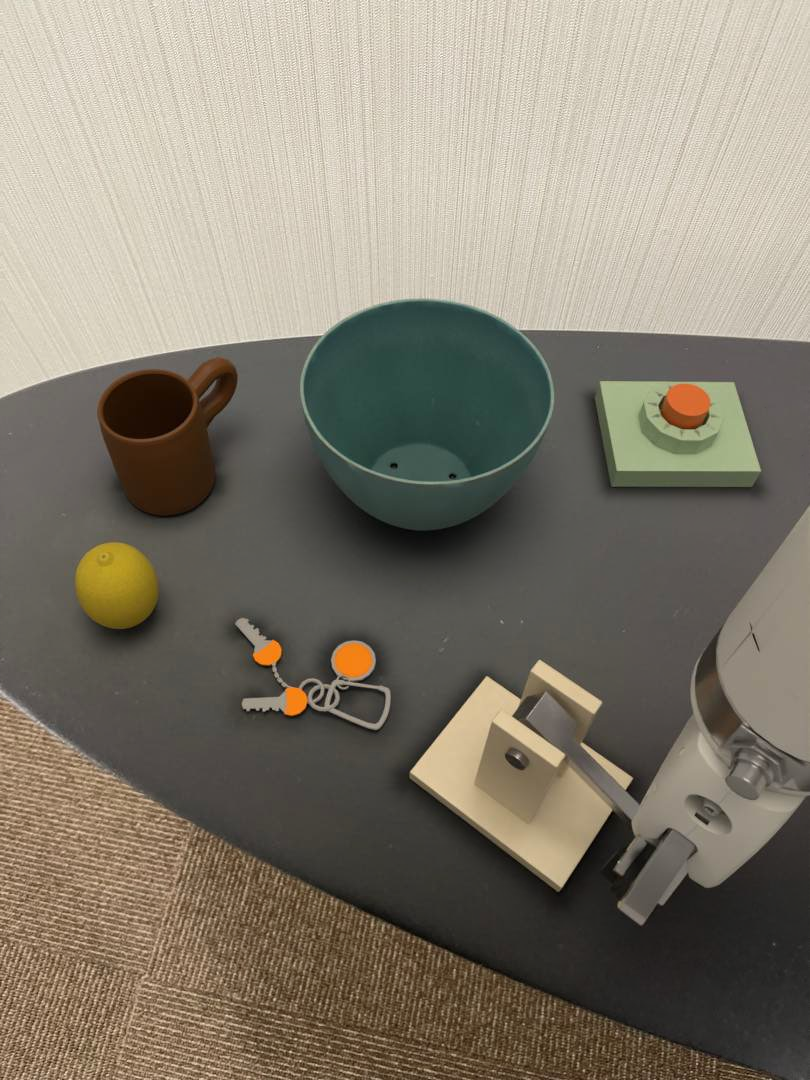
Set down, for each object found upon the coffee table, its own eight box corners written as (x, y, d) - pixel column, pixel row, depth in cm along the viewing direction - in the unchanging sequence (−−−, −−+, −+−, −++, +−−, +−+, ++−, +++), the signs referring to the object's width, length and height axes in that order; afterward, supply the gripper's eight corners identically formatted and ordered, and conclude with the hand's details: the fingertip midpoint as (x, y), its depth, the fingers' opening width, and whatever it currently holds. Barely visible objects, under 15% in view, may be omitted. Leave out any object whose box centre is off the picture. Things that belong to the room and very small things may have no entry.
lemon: (95, 585, 69) (65, 525, 62) (169, 579, 69) (147, 519, 63) (89, 650, 66) (57, 594, 59) (166, 644, 66) (143, 588, 60)
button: (699, 397, 77) (705, 383, 76) (708, 430, 75) (715, 415, 74) (657, 397, 77) (663, 382, 75) (665, 429, 75) (671, 415, 73)
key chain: (405, 654, 66) (406, 649, 66) (379, 746, 62) (379, 742, 62) (240, 613, 68) (239, 608, 67) (204, 701, 64) (202, 696, 63)
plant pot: (289, 425, 78) (278, 317, 68) (489, 388, 82) (506, 280, 71) (336, 602, 69) (331, 507, 59) (561, 553, 72) (592, 455, 62)
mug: (214, 404, 80) (197, 322, 72) (275, 450, 77) (264, 370, 69) (104, 483, 74) (73, 405, 66) (165, 536, 72) (140, 461, 64)
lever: (675, 816, 56) (700, 816, 54) (635, 882, 54) (659, 884, 52) (539, 679, 55) (559, 673, 53) (492, 740, 53) (512, 736, 51)
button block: (726, 398, 82) (741, 367, 79) (752, 487, 76) (769, 457, 73) (594, 398, 81) (603, 366, 78) (610, 486, 76) (621, 456, 73)
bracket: (629, 783, 62) (678, 715, 52) (558, 892, 58) (597, 840, 48) (484, 682, 66) (505, 600, 56) (408, 778, 61) (416, 707, 52)
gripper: (790, 936, 31) (653, 998, 46) (956, 599, 39) (795, 742, 54) (604, 802, 34) (529, 900, 48) (797, 509, 42) (683, 668, 56)
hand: (670, 816), depth 51 cm, fingers open, 9 cm apart
